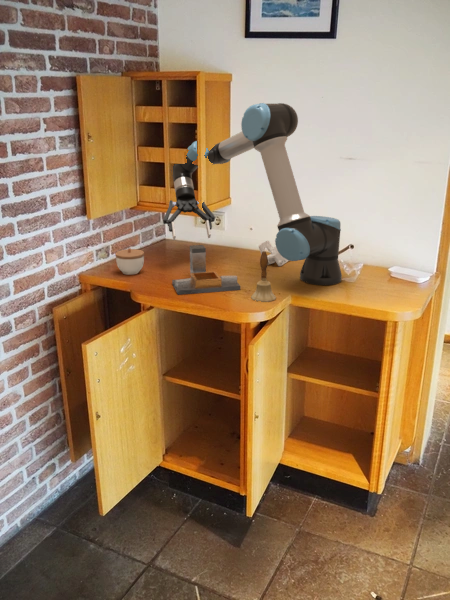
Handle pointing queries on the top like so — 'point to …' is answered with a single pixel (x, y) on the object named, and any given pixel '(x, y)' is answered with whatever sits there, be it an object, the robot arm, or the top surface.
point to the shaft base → (205, 283)
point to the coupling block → (197, 259)
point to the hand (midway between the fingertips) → (192, 237)
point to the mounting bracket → (272, 254)
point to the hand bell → (263, 283)
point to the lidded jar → (130, 260)
